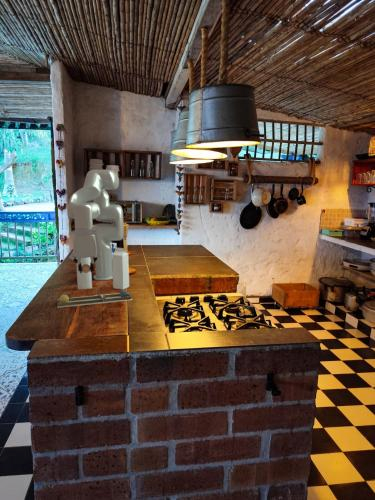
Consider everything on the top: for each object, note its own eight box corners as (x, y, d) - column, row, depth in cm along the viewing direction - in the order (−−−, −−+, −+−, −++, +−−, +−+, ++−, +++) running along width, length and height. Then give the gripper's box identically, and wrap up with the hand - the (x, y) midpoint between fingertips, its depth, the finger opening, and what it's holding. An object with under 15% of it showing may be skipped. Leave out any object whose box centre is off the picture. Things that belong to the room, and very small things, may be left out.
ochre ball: (59, 302, 159) (59, 294, 159) (69, 301, 161) (68, 293, 160) (59, 305, 156) (59, 296, 155) (69, 304, 157) (68, 295, 156)
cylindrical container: (77, 291, 179) (74, 243, 174) (78, 287, 186) (75, 241, 181) (92, 290, 181) (89, 242, 176) (92, 286, 188) (89, 240, 183)
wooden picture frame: (57, 301, 160) (57, 299, 160) (101, 297, 166) (101, 295, 166) (57, 306, 154) (57, 303, 154) (103, 301, 161) (103, 299, 160)
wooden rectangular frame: (103, 297, 167) (103, 295, 166) (129, 295, 171) (129, 292, 170) (104, 301, 161) (104, 299, 161) (131, 299, 165) (131, 296, 164)
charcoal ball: (118, 296, 168) (118, 288, 167) (127, 296, 169) (127, 288, 168) (120, 299, 164) (119, 291, 163) (128, 298, 165) (128, 290, 165)
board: (57, 301, 164) (57, 298, 164) (128, 294, 175) (128, 291, 175) (57, 310, 153) (57, 306, 153) (132, 302, 164) (132, 298, 163)
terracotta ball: (81, 272, 160) (81, 263, 159) (90, 271, 161) (90, 263, 161) (81, 274, 156) (81, 265, 156) (90, 273, 158) (90, 264, 157)
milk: (119, 287, 187) (118, 246, 183) (129, 288, 185) (128, 247, 181) (113, 290, 182) (111, 248, 178) (123, 291, 180) (122, 249, 176)
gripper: (102, 230, 161) (104, 269, 165) (64, 231, 156) (66, 271, 160) (104, 232, 154) (105, 272, 158) (64, 233, 149) (66, 275, 153)
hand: (86, 271), depth 159 cm, fingers closed on terracotta ball, 3 cm apart
